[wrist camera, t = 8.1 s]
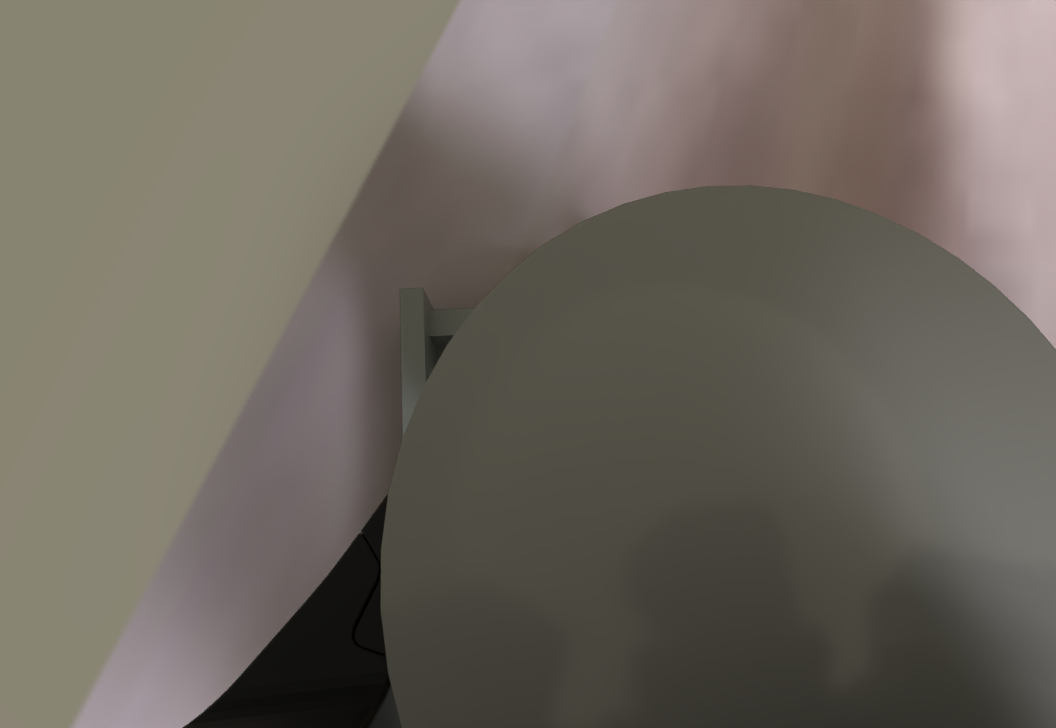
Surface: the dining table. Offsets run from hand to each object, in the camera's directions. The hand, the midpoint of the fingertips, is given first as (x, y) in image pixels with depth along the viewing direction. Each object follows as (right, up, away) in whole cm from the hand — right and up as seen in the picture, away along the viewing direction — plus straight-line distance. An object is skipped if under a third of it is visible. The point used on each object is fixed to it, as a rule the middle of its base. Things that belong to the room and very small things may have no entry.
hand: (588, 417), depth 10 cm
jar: (0, -3, +6) cm, 7 cm away
